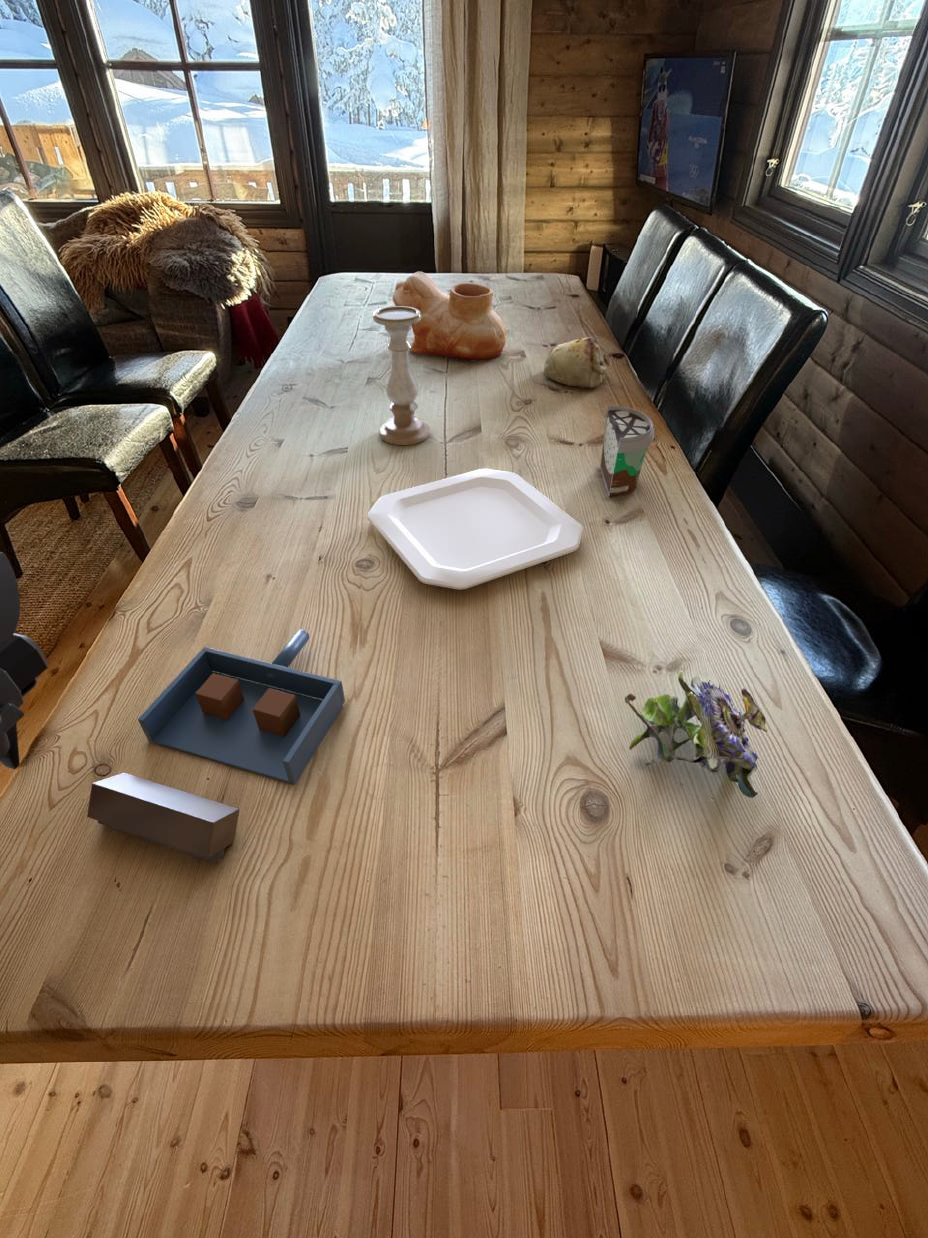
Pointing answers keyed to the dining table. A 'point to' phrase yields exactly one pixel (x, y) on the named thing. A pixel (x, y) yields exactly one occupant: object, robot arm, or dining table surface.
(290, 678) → the dustpan
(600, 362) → the pastry
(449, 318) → the ceramic vessel
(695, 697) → the passion flower
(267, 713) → the crumb
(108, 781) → the brown long block
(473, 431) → the dining table surface
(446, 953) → the dining table surface
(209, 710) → the crumb
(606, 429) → the food container
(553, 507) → the plate
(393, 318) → the candle holder
